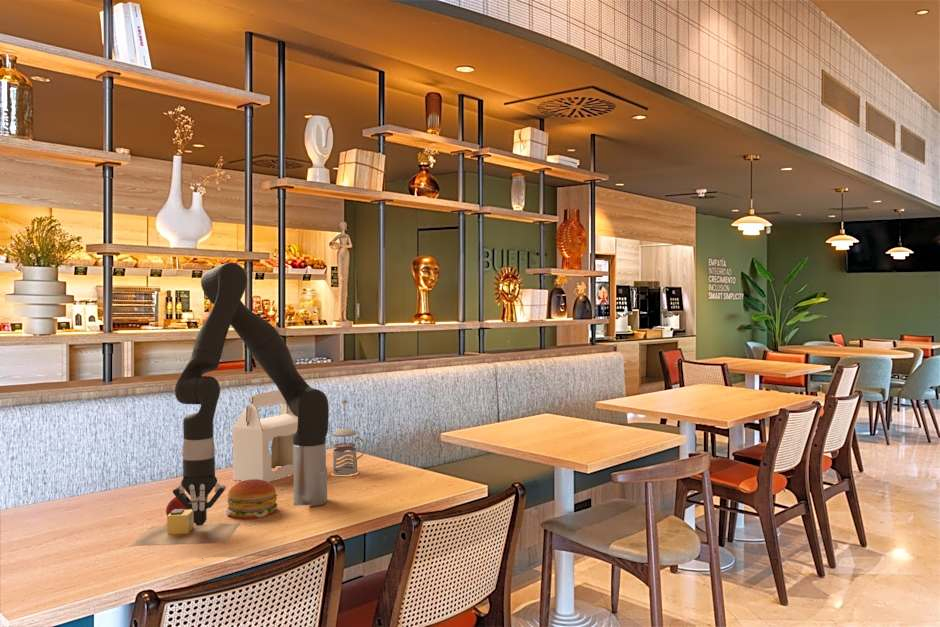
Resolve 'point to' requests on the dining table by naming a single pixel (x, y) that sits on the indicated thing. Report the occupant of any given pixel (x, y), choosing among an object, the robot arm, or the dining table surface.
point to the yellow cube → (180, 521)
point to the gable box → (263, 440)
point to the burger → (251, 499)
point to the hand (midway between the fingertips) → (200, 524)
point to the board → (187, 535)
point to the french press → (342, 447)
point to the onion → (174, 506)
